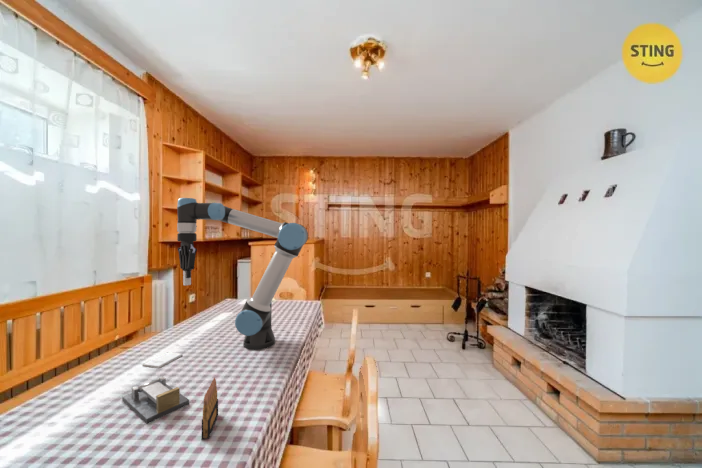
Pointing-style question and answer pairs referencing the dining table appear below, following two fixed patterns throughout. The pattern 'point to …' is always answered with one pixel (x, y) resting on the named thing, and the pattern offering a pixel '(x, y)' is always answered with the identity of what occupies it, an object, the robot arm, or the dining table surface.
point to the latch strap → (153, 389)
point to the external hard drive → (162, 360)
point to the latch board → (148, 409)
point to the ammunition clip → (209, 410)
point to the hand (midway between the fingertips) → (187, 284)
